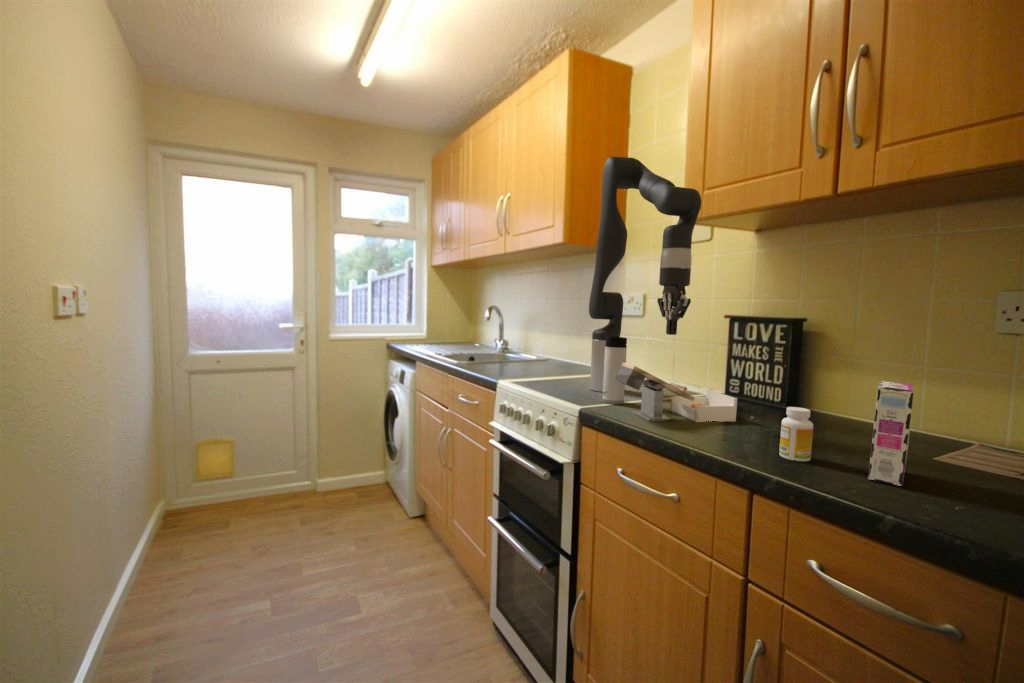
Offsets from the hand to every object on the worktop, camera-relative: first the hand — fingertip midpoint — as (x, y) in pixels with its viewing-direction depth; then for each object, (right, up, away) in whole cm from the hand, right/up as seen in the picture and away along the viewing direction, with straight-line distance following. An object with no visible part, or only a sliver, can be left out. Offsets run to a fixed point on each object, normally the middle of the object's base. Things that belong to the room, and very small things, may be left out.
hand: (671, 334), depth 123 cm
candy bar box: (+25, -26, -39) cm, 53 cm away
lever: (-5, -16, 0) cm, 17 cm away
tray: (+9, -22, +4) cm, 24 cm away
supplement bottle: (+14, -25, -30) cm, 41 cm away
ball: (+8, -20, +3) cm, 21 cm away
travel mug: (-11, -20, +18) cm, 29 cm away
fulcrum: (-5, -22, +1) cm, 22 cm away
